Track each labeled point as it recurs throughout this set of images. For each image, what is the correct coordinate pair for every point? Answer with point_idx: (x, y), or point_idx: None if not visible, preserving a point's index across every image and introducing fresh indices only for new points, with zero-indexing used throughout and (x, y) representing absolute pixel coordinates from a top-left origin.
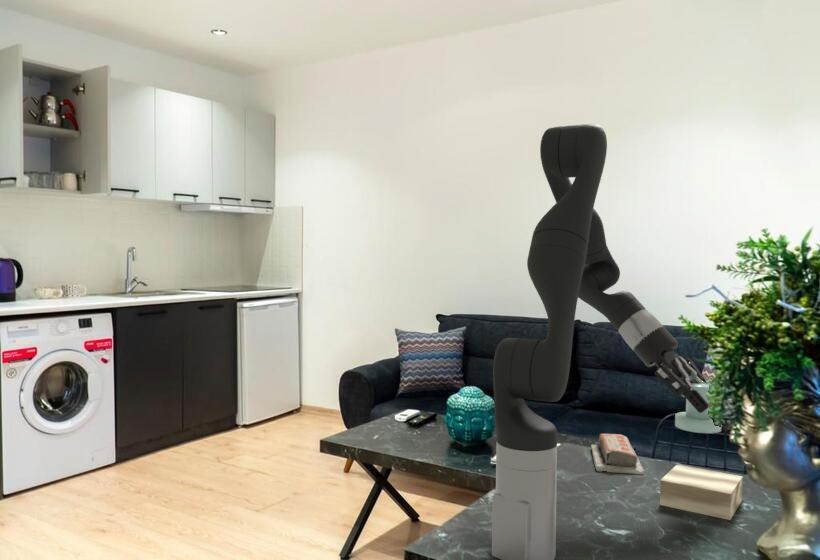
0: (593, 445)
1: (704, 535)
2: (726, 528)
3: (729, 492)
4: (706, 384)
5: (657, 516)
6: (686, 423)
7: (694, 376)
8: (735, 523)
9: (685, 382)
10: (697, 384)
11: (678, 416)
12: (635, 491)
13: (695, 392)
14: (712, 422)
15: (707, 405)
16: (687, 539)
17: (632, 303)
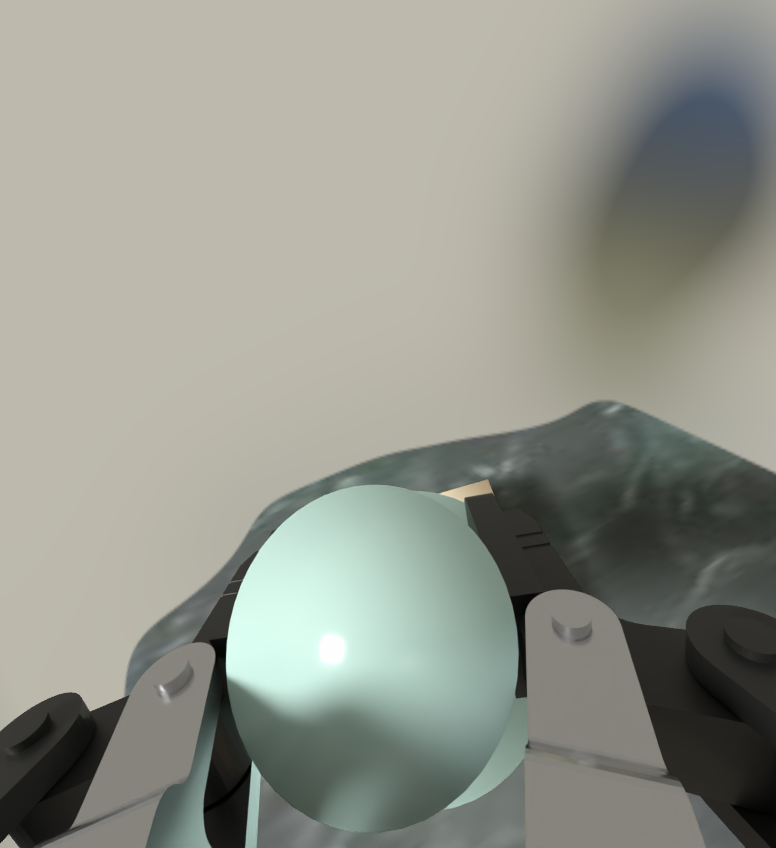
0: None
1: (625, 489)
2: (538, 480)
3: (479, 487)
4: (238, 599)
5: None
6: None
7: (183, 818)
8: (492, 482)
9: (656, 741)
10: (320, 676)
11: (519, 736)
12: (522, 837)
13: (535, 583)
14: (460, 502)
15: (491, 494)
16: (687, 500)
17: None
